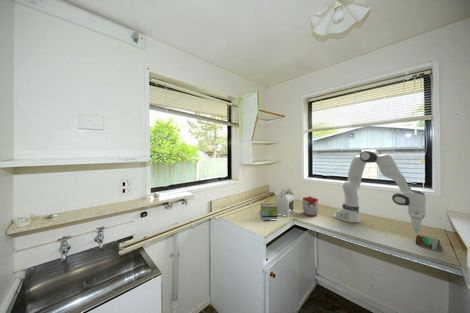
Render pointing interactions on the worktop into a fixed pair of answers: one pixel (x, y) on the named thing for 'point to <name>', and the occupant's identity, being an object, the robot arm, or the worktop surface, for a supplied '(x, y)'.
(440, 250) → the mat
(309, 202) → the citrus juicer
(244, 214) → the worktop surface
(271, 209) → the tea box
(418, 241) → the food container
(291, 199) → the gable box
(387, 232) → the worktop surface
